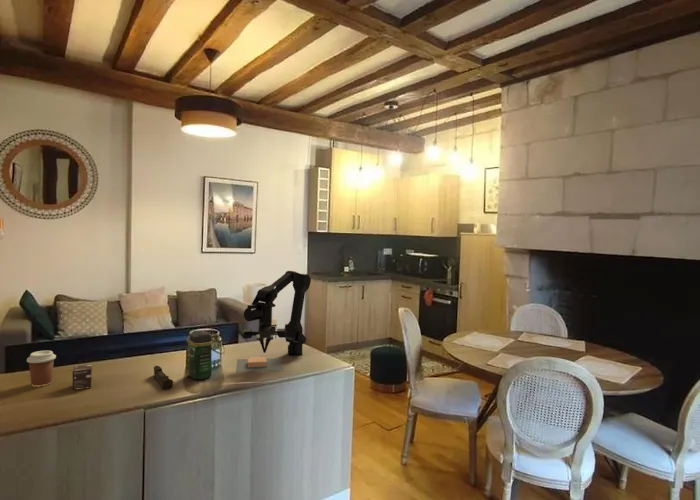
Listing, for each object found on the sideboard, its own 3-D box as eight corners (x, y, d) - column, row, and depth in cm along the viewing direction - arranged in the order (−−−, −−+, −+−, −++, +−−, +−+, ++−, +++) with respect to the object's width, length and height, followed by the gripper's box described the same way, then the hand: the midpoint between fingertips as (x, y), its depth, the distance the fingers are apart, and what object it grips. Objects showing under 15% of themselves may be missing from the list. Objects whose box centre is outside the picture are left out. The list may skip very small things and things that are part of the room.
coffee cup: (53, 378, 172) (53, 348, 172) (58, 384, 166) (58, 353, 165) (24, 383, 166) (24, 352, 165) (29, 390, 160) (28, 358, 159)
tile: (266, 357, 198) (248, 357, 197) (266, 361, 192) (247, 362, 190) (266, 362, 199) (248, 362, 197) (266, 367, 192) (247, 367, 190)
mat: (281, 359, 206) (281, 357, 206) (283, 372, 188) (283, 370, 188) (237, 360, 201) (237, 359, 201) (235, 373, 184) (235, 372, 184)
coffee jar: (214, 377, 179) (215, 332, 178) (195, 381, 174) (195, 335, 173) (205, 371, 186) (205, 327, 185) (186, 374, 181) (187, 330, 180)
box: (72, 390, 161) (72, 371, 160) (73, 385, 166) (73, 366, 166) (91, 388, 164) (91, 369, 163) (92, 383, 169) (92, 364, 169)
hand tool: (173, 389, 166) (173, 377, 165) (162, 391, 163) (162, 379, 163) (162, 374, 181) (162, 363, 181) (152, 376, 179) (152, 364, 179)
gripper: (243, 322, 184) (242, 358, 185) (287, 321, 188) (286, 357, 189) (243, 316, 195) (243, 351, 196) (286, 316, 199) (285, 350, 200)
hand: (264, 352), depth 195 cm, fingers closed
